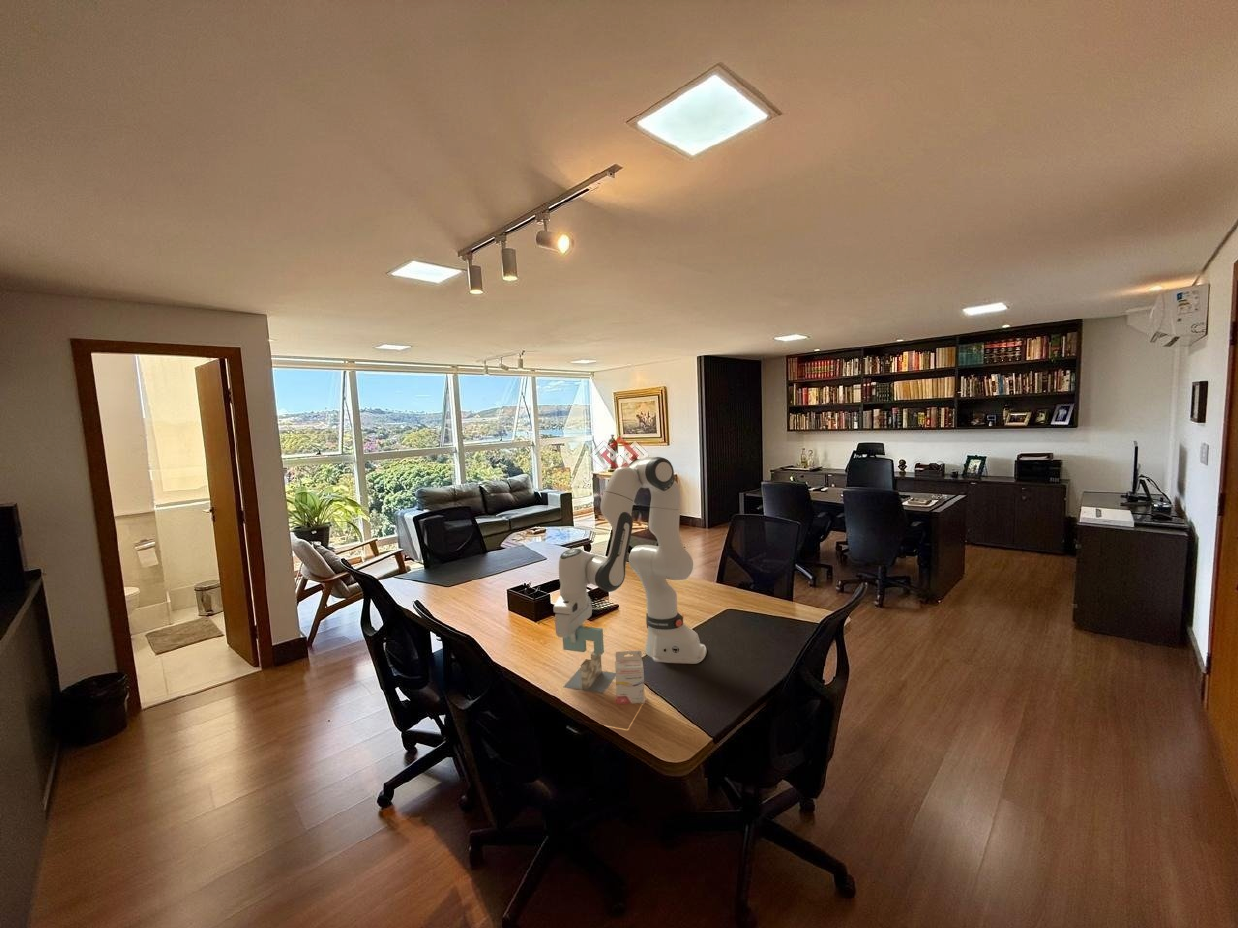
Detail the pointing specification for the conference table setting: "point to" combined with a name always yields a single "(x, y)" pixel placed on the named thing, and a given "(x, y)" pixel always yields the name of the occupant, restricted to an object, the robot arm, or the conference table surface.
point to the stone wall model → (590, 670)
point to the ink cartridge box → (629, 678)
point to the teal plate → (582, 636)
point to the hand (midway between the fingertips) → (576, 639)
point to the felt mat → (597, 685)
